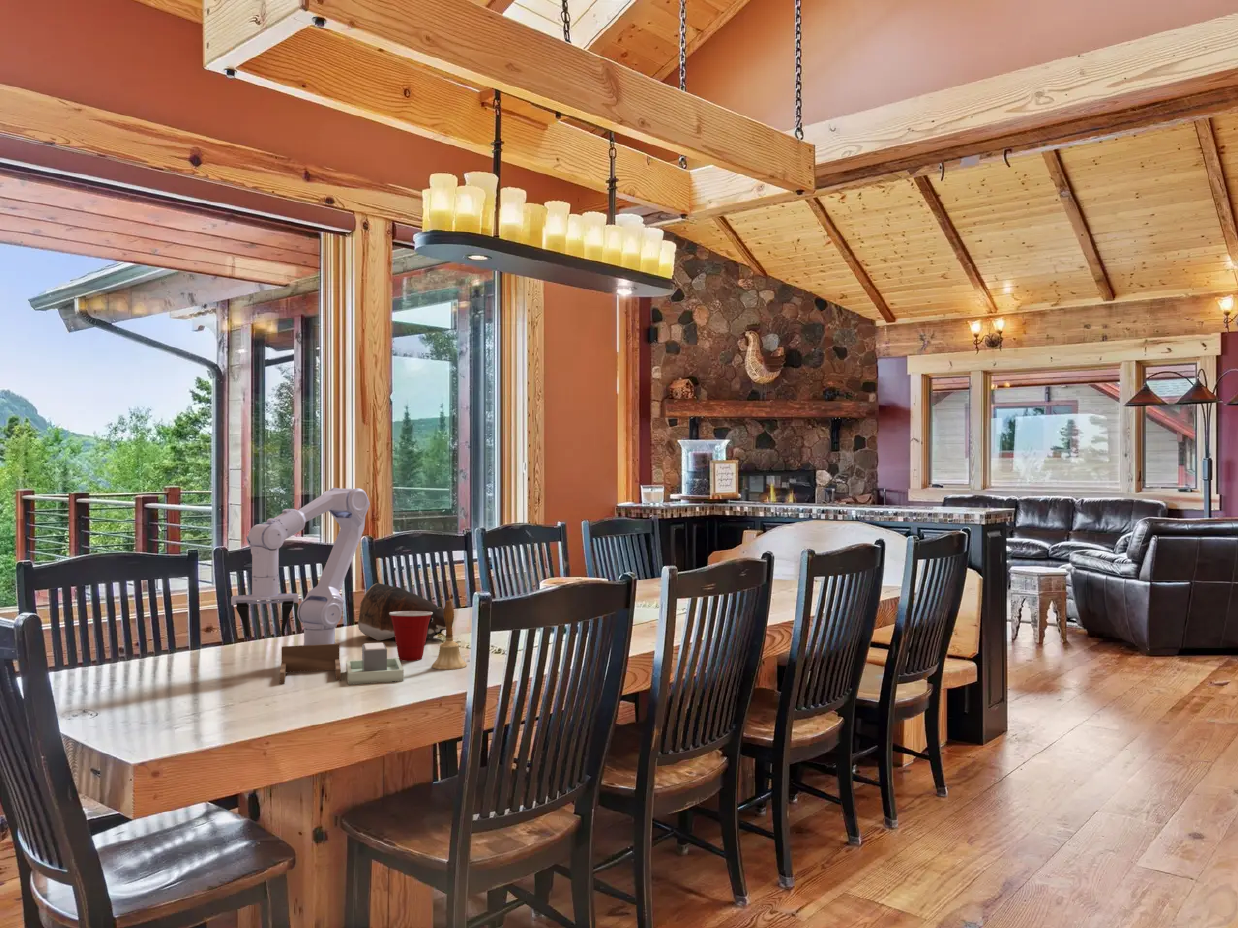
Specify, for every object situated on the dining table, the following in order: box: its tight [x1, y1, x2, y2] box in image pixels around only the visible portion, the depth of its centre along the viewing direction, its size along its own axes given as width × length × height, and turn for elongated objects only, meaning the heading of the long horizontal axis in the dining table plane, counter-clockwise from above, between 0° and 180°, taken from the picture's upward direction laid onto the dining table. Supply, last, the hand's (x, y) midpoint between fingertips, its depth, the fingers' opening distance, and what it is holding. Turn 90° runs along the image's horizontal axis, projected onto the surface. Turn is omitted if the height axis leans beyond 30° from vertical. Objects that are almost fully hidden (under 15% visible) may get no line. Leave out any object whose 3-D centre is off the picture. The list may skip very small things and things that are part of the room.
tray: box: [345, 657, 405, 685], centre depth 219 cm, size 14×12×2 cm
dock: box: [279, 643, 342, 685], centre depth 219 cm, size 13×13×6 cm
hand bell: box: [431, 599, 467, 671], centre depth 230 cm, size 8×8×16 cm
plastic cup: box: [389, 611, 433, 662], centre depth 239 cm, size 11×11×12 cm
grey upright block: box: [361, 642, 388, 672], centre depth 219 cm, size 8×5×6 cm, turn 18°
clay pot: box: [357, 582, 446, 641], centre depth 266 cm, size 15×15×25 cm
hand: (265, 634), depth 219 cm, fingers open, 7 cm apart
